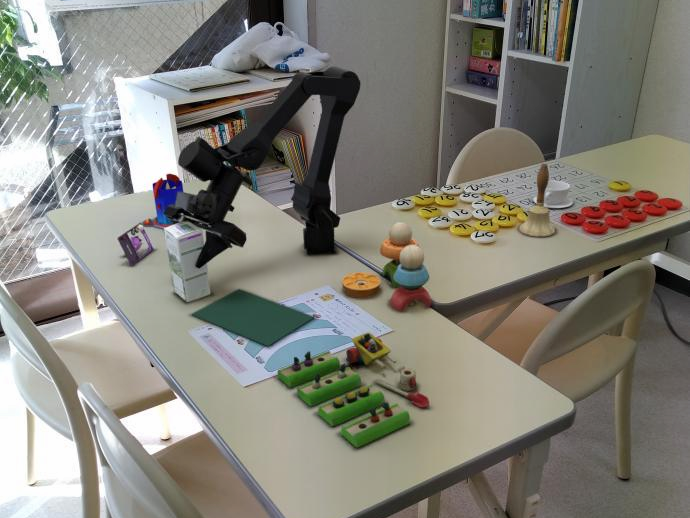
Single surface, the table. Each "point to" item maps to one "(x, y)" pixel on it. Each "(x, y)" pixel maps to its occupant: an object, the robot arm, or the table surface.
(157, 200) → the fantasy tower
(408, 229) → the wooden stacking toy
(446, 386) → the table surface
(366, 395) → the toy garden set
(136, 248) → the game card
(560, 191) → the teacup
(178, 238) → the syrup box
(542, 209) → the hand bell
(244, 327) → the green mat
